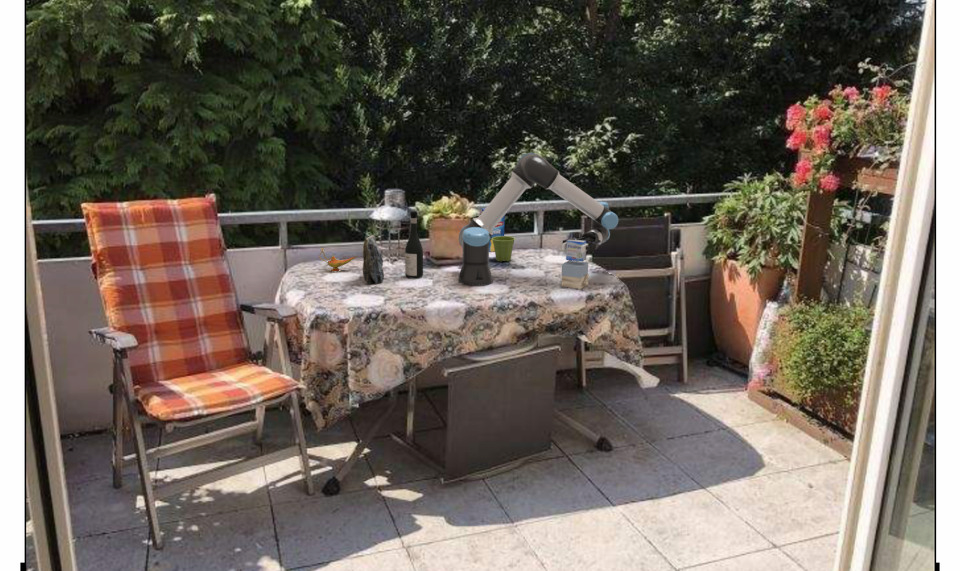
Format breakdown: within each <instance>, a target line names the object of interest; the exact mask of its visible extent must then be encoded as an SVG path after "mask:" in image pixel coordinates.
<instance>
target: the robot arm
mask: <svg viewBox="0 0 960 571" xmlns="http://www.w3.org/2000/svg"><path fill="white" fill-rule="evenodd" d="M516 163H517V164H516V165H515V167H514V168H513V169H512V170H511V172H510V173H511V177H510V178H509V179H508V180H507V182H506V183H505V184H504V185H503V186H502V188H501V189H500V191H498V193H497V194H496V195H495V196H494V197H493V198H492V200H491V201H490V202H489V204H488V205H487V206H486V207H485V208H486V209H485V210H484V211H483V212H482V213H481V215H480V214H479V216H478V217H473V218H472V219H471V220H470V221H469V223H468V224H466V225H465V226H463V227H462V228H461V230H460V232H459V234H458V242H459V245H460V247H461V248H462V265H461V268H460V272H459V275H458V283H460V284H462V285H465V286H474V287H475V286H485V285H489V284H492V283H493V275H492V270H491V267H490V265H489V264H490V262H489V261H490V252H489V239H490V237H491V236H492V235H493V232H492V230H493V228H494V227H495V226H496V225H497V223H498V222H499V221H500V220H501V219H502V217H503V216H504V215H505V216H506V214H507V212H508V211H510V209H511V208H512V207H513V205H514V204H515V203H516V202H517V201H518V200H519V199H520V197H521V196H522V194H523V193H524V192H526V190H528V189H532V188H533V187H534V185H535V184H537V185H539V186H540V187H542V188H544V189H545V190H550V191H552V192H553V193H555V195H557V196H559V198H561V199H563V200H565V201H566V202H567V203H569V204H570V205H572V206H573V207H575V208H576V209H578V210H579V211H580V212H582V213H583V214H585V215H586V216H588V218H591V224H590V225H591V226H590V227H591V228H590V230H589V231H587V232H586V231H585V233H583V234H582V235H581V237H577V238H576V237H575V236H572V237H571V238H565V239H562V242H561V251H564V250H566V248H567V240H569V239H572V240H583V241H587V242H586V244H585V245H583V246H581V253H583V252H585V251H586V252H587V251H588V250H593V251H596V250H597V249H598V248H599V247H601V246H602V244H604V243H605V242H607V241H608V240H609V239H610V236H611V233H610V232H611V230H613V229H615V228H616V227H617V226H618V224H619V217H618V215H617V214H616V213H614V212H613V211H611V210H610V208H609V203H608V202H607V201H598V200H596V199H594V198H593V197H592V196H591V195H589V194H588V193H586V192H585V191H583V190H581V188H579V187H578V186H576V185H575V184H574V183H572V182H570V181H569V180H568V179H567V178H565V177H564V176H562V175H561V174H560V170H558V169H556V168H555V167H554V166H553V165H552V164H551V163H550V162H549V161H547V159H546V158H544V157H543V156H541V155H539V154H538V153H534V152H528V153H524V154H523V155H522V156H521V157H519V159H518V160H517V162H516Z"/></svg>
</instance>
